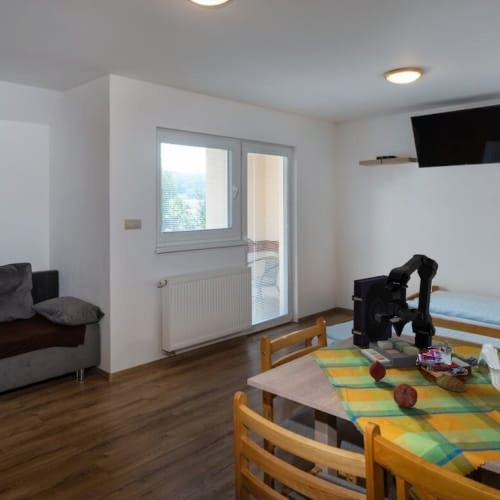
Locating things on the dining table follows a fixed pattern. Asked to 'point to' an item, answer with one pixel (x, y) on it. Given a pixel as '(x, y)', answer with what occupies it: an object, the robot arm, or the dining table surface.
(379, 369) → the onion
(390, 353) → the key terracotta
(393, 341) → the key slate
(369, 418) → the dining table surface
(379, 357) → the keypad console
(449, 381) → the pastry
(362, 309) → the book
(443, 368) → the calculator
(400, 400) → the pomegranate
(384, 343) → the light grey key
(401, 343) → the key sage
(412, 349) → the key sand
